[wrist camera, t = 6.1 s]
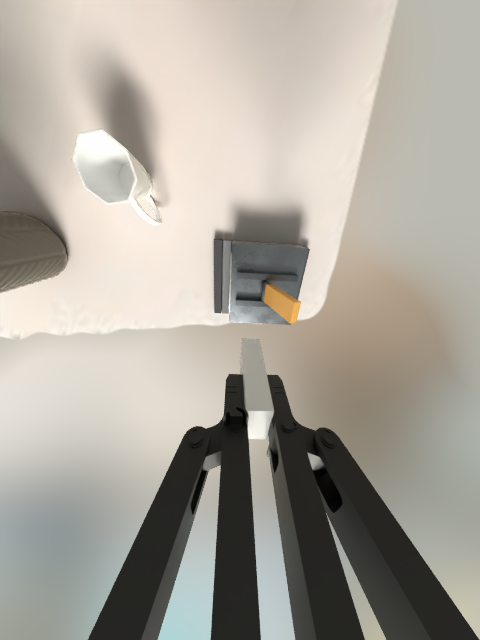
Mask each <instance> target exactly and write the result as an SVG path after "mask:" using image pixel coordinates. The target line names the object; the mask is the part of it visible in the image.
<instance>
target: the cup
mask: <svg viewBox="0 0 480 640" xmlns="http://www.w3.org/2000/svg"><path fill="white" fill-rule="evenodd" d="M72 161H73V163H74V165H75V168H76V170H77V172H78V174H79V176H80V178H81V181H82V183H83V185H84V187H85V189H86V190H88V191H89V192H90V193H92V194H93V195H95V196H96V197H98V198H99V199H100V200H102V201H103V202H105V203H106V204H108V205H113V204H119V203H127V202H130V204H131V205H132V206H133V208H134V209H135V210H136V212H137V213H138V214H139V215H140V216H141V217H142V218H143V219H144V220H145V221H147V222H148V223H149V224H152V225H154V226H158V225H159V224H161V223H162V218H161V215H160V213H159V211H158V208H157V206H156V204H155V203H154V201H153V199H152V198H151V196H150V195H151V192H152V190H153V184H152V181H151V178H150V175H149V173H147V172H146V170H145V169H144V167H143V166H142V164H141V163H140V162H139V161H138V160H137V159H136V158H135V157H134V156H133V155H132V154H131V153H130V152H129V151H128V150H127V149H126V148H125V147H124V146H123V145H121V144H120V143H119V142H118V141H116V140H115V139H114V138H113V137H112V136H110V135H109V134H108V133H107V132H106V131H104V130H103V129H97V130H92V131H87V132H81V133H78V135H77V139H76V144H75V148H74V152H73V157H72ZM143 199H147V201H148V202H149V204H150V206H151V208H152V210H153V212H154V214H155V217H156V220H157V221H156V220H154V219H152V218H151V217H150V216H149V215H148V214H146V213H145V211H144V210H143V209H142V207H141V206H140V204H139V203H138V201H139V200H143Z"/></svg>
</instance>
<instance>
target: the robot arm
mask: <svg viewBox="0 0 480 640" xmlns="http://www.w3.org/2000/svg"><path fill="white" fill-rule="evenodd" d="M240 372H241V374H239V375H237V374H229V376H228V377H227V379H226V389H225V406H224V416H223V418H222V420H221V421H220V422H219V423H218V424H217V425H215V426H213V427H210V428H207V429H205V428H203V427H199V426H196V427H193V428H191V429H190V430H188V431H187V432H186V434H185V435H184V437H183V439H182V441H181V443H180V445H179V448H178V450H177V452H176V454H175V456H174V458H173V460H172V462H171V465H170V467H169V469H168V471H167V473H166V475H165V477H164V479H163V482H162V484H161V486H160V488H159V490H158V492H157V494H156V496H155V499H154V501H153V503H152V505H151V507H150V509H149V511H148V513H147V516H146V518H145V520H144V522H143V524H142V526H141V528H140V530H139V532H138V535H137V537H136V539H135V541H134V543H133V545H132V547H131V550H130V552H129V554H128V556H127V558H126V560H125V562H124V564H123V566H122V569H121V571H120V573H119V575H118V577H117V579H116V581H115V583H114V585H113V588H112V590H111V592H110V594H109V596H108V599H107V601H106V602H105V605H104V607H103V609H102V611H101V613H100V615H99V617H98V620H97V622H96V624H95V626H94V628H93V630H92V632H91V634H90V636H89V639H88V640H157V639H158V636H159V633H160V629H161V626H162V623H163V620H164V616H165V613H166V609H167V606H168V603H169V600H170V597H171V593H172V590H173V586H174V583H175V580H176V577H177V573H178V570H179V567H180V564H181V560H182V557H183V554H184V550H185V547H186V544H187V541H188V537H189V534H190V531H191V527H192V524H193V521H194V518H195V514H196V511H197V508H198V504H199V501H200V498H201V495H202V491H203V488H204V485H205V481H206V478H207V474H208V471H209V470H210V469H212V468H215V467H217V466H219V465H221V472H220V490H219V506H218V507H219V508H218V525H217V542H216V559H215V578H214V593H213V611H212V628H211V629H212V630H211V640H261V636H260V620H259V604H258V588H257V571H256V555H255V539H254V523H253V507H252V491H251V474H250V460H249V459H250V458H249V441H248V439H267V437H268V436H269V447H268V451H267V457H270V464H271V471H272V478H273V485H274V492H275V499H276V506H277V513H278V520H279V527H280V534H281V541H282V548H283V555H284V562H285V569H286V576H287V584H288V591H289V598H290V604H291V611H292V619H293V626H294V631H295V632H294V633H295V640H365V639H364V636H363V632H362V629H361V626H360V623H359V619H358V616H357V613H356V609H355V607H354V603H353V600H352V597H351V593H350V590H349V587H348V583H347V580H346V577H345V574H344V570H343V567H342V564H341V561H340V558H339V555H338V551H337V548H336V544H335V541H334V538H333V535H332V531H331V528H330V525H329V522H328V519H327V515H328V517H329V519H330V521H331V524H332V526H333V527H334V530H335V532H336V534H337V536H338V538H339V540H340V542H341V544H342V546H343V549H344V551H345V553H346V555H347V557H348V559H349V561H350V564H351V566H352V568H353V570H354V572H355V574H356V576H357V578H358V580H359V582H360V585H361V587H362V589H363V591H364V593H365V595H366V597H367V599H368V601H369V604H370V606H371V608H372V610H373V612H374V614H375V616H376V618H377V620H378V622H379V625H380V627H381V629H382V631H383V633H384V635H385V637H386V639H387V640H479V639H478V637H477V636H476V634H475V633H474V631H473V630H472V628H471V627H470V626H469V624H468V623H467V621H466V620H465V618H464V617H463V616H462V614H461V613H460V611H459V610H458V608H457V607H456V605H455V604H454V603H453V601H452V600H451V598H450V597H449V595H448V594H447V592H446V591H445V590H444V588H443V587H442V585H441V584H440V582H439V581H438V580H437V578H436V577H435V575H434V574H433V573H432V571H431V570H430V568H429V567H428V565H427V564H426V562H425V561H424V560H423V558H422V557H421V555H420V554H419V552H418V551H417V549H416V548H415V547H414V545H413V544H412V542H411V541H410V539H409V538H408V537H407V535H406V534H405V532H404V531H403V529H402V528H401V526H400V525H399V523H398V522H397V521H396V519H395V518H394V516H393V515H392V514H391V512H390V510H389V509H388V508H387V506H386V505H385V503H384V502H383V500H382V499H381V497H380V496H379V495H378V493H377V492H376V491H375V489H374V487H373V486H372V485H371V483H370V482H369V480H368V479H367V477H366V476H365V474H364V473H363V472H362V470H361V469H360V467H359V466H358V464H357V463H356V461H355V460H354V459H353V457H352V456H351V454H350V453H349V451H348V450H347V448H346V447H345V446H344V444H343V443H342V441H341V440H340V438H339V437H338V436H337V435H336V434H335V433H334V432H333V431H331V430H330V429H327V428H319V429H317V430H316V431H315V430H312V429H309V428H306V427H304V426H302V425H300V424H299V423H298V422H297V421H296V420H295V419H294V417H293V415H292V413H291V410H290V406H289V403H288V399H287V396H286V392H285V389H284V385H283V382H282V380H281V379H280V377H279V376H278V375H267V374H266V368H265V364H264V359H263V354H262V349H261V344H260V339H242V346H241V358H240ZM325 511H326V512H325ZM326 513H327V515H326Z"/></svg>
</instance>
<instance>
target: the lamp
mask: <svg viewBox="0 0 480 640" xmlns="http://www.w3.org/2000/svg"><path fill="white" fill-rule="evenodd" d="M67 258H68V256H67V253H66V249H65V246H64V244H63V243H62V241H61V239H60V238H59V237H58V236H57V235H56V233H54V232H53V231H52V230H51V229H50V228H49V227H48V226H47V225H45V224H44V223H42V222H40V221H39V220H37V219H34V218H32V217H31V216H28V215H24V214H21V213H16V212H8V211H0V293H2V292H7V291H9V290H12V289H16V288H19V287H23V286H26V285H28V284H33V283H35V282H39V281H42V280H46V279H48V278H52V277H54V276H57V275H59V273H60V272H62V271H63V270H64V268H65V267H66V265H67Z"/></svg>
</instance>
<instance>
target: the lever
mask: <svg viewBox="0 0 480 640" xmlns="http://www.w3.org/2000/svg"><path fill="white" fill-rule="evenodd" d="M262 301H264V302H265V303H266V304H267V305H268V306H270V307H271V308H272V309H273V310H274V311H276V312H277V313H278V314H279V315H280V316H282V317H283V318H284V319H285V320H286V321H288V322H289V323H296V320H297V316H298V312H299V308H300V304H301V302H300V301H298V300H297V299H295V298H293V297H292V296H290V295H289V294H287V293H285V292H284V291H282V290H280V289H279V288H277V287H276V286H274V285H272V284H271V283H269V282H264V284H263V292H262Z"/></svg>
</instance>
